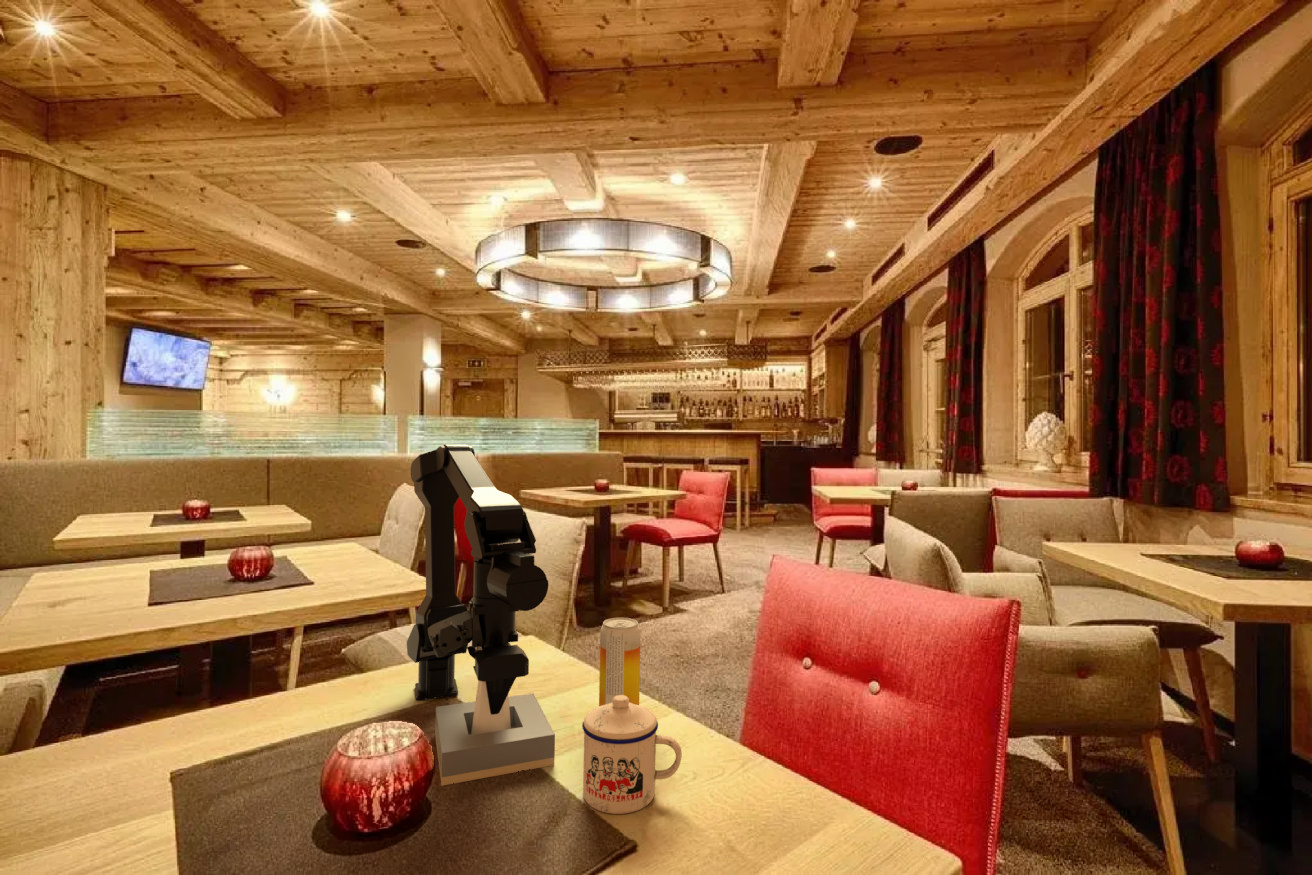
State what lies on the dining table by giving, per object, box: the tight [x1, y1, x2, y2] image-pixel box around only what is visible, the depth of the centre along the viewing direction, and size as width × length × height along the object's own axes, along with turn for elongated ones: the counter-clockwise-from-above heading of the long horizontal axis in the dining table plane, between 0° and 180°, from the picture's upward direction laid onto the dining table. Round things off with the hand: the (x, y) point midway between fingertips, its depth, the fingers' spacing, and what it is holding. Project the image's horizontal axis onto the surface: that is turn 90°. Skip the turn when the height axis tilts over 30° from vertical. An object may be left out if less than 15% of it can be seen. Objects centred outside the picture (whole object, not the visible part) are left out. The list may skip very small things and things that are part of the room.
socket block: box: [434, 692, 556, 787], centre depth 86 cm, size 14×14×4 cm
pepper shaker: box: [471, 680, 511, 735], centre depth 86 cm, size 5×5×11 cm
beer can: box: [598, 617, 642, 707], centre depth 95 cm, size 6×6×15 cm
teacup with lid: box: [582, 695, 682, 815], centre depth 75 cm, size 12×9×12 cm
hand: (492, 707), depth 86 cm, fingers closed on pepper shaker, 4 cm apart
